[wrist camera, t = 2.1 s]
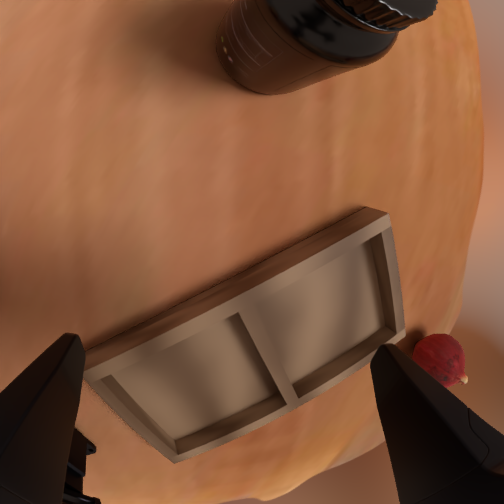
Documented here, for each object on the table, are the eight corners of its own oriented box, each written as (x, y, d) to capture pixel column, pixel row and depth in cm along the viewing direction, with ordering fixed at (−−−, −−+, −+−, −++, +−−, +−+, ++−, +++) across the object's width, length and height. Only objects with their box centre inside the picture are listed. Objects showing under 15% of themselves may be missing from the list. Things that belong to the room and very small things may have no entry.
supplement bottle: (291, -1, 16) (409, -84, 5) (327, 83, 18) (476, 49, 8) (196, 17, 15) (264, -113, 4) (235, 110, 17) (360, 57, 6)
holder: (170, 442, 23) (174, 463, 21) (84, 351, 18) (79, 373, 16) (388, 323, 27) (405, 335, 25) (366, 206, 22) (388, 213, 20)
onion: (389, 369, 29) (437, 412, 22) (409, 323, 28) (465, 362, 21) (421, 362, 32) (465, 398, 24) (439, 320, 30) (489, 352, 23)
